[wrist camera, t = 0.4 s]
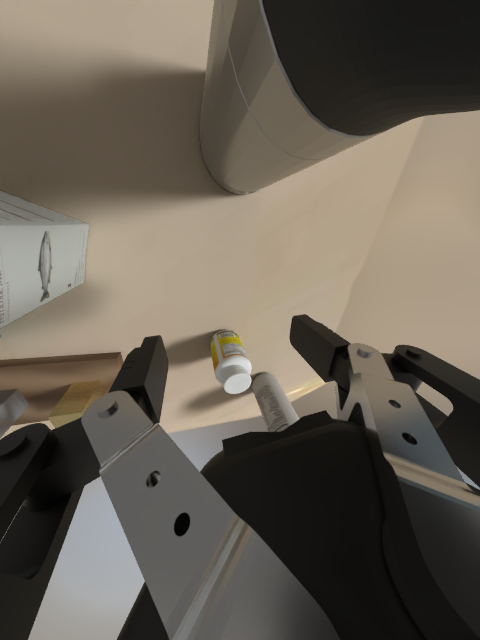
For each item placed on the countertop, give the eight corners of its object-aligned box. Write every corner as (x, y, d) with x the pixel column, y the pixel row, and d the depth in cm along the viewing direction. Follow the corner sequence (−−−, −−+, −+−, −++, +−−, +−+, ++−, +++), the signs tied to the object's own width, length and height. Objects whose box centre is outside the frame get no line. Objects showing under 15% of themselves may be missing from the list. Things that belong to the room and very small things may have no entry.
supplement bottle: (221, 357, 34) (232, 403, 25) (203, 340, 31) (208, 386, 22) (244, 341, 33) (263, 382, 25) (228, 322, 30) (243, 362, 22)
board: (-58, 364, 22) (-148, 415, 16) (120, 352, 28) (101, 387, 22) (-6, 420, 28) (-59, 473, 22) (133, 400, 33) (122, 439, 27)
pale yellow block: (72, 383, 26) (47, 417, 22) (99, 380, 27) (82, 412, 23) (80, 398, 28) (58, 433, 23) (105, 395, 29) (90, 428, 24)
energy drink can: (263, 391, 42) (294, 463, 30) (245, 385, 39) (272, 461, 27) (279, 375, 41) (319, 443, 28) (262, 367, 38) (298, 439, 25)
